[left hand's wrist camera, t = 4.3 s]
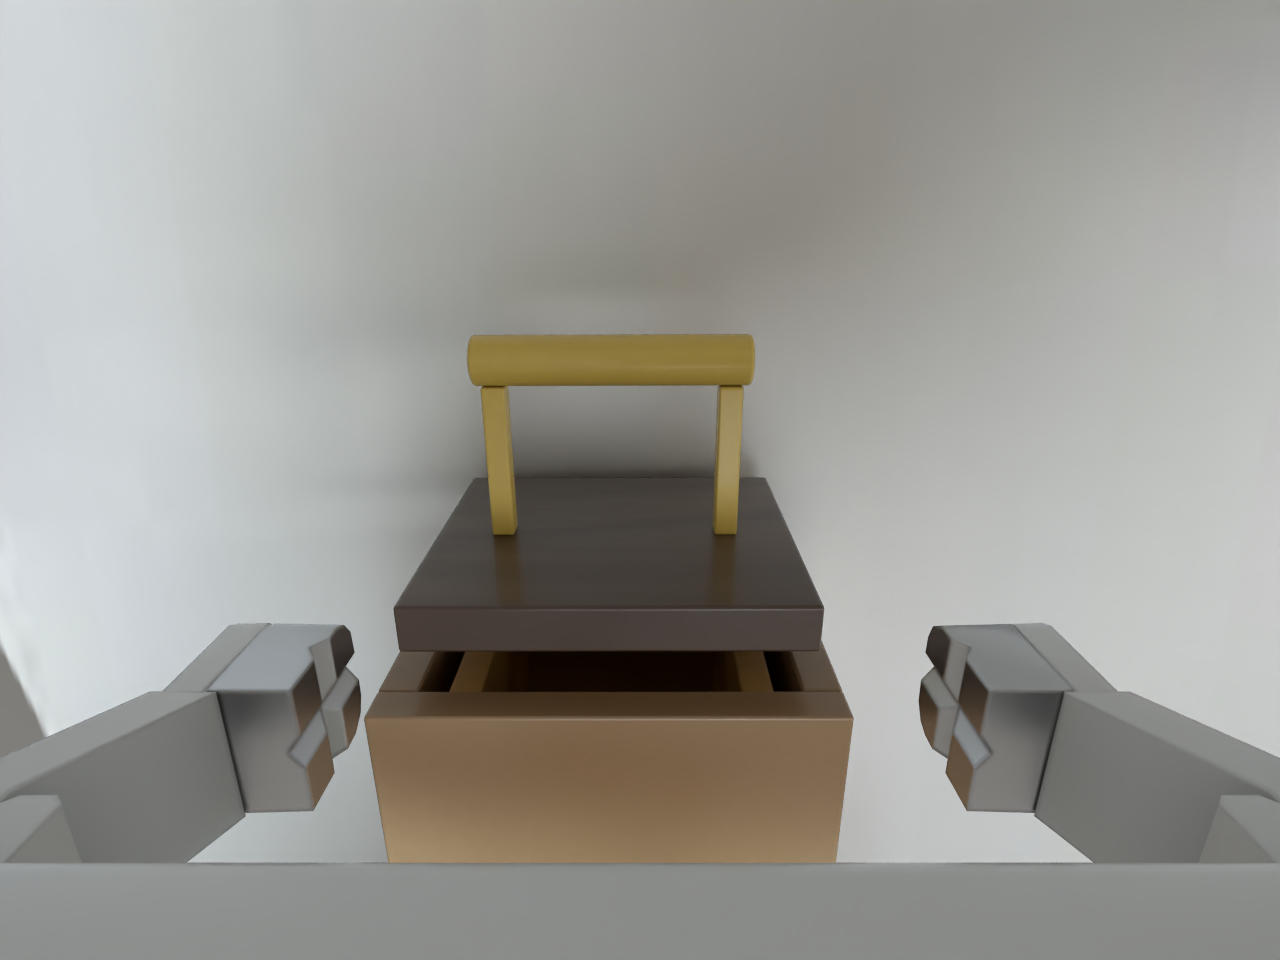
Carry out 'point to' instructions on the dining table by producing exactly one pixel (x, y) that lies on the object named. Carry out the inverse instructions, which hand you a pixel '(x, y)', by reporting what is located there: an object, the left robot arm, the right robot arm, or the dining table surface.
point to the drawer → (612, 545)
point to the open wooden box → (610, 769)
